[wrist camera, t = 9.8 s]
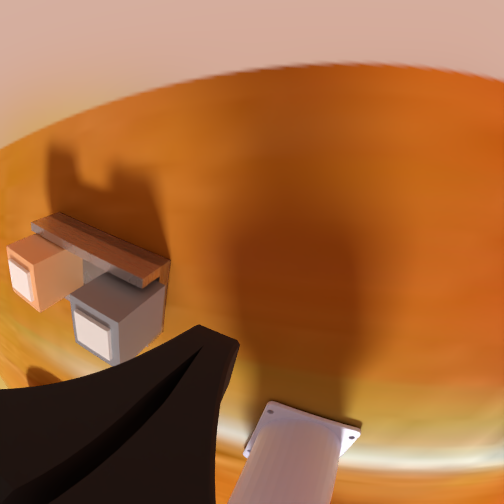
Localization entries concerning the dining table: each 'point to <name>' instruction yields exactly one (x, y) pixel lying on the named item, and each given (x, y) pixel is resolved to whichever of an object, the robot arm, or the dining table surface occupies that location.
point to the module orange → (43, 271)
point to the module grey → (116, 317)
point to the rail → (104, 253)
